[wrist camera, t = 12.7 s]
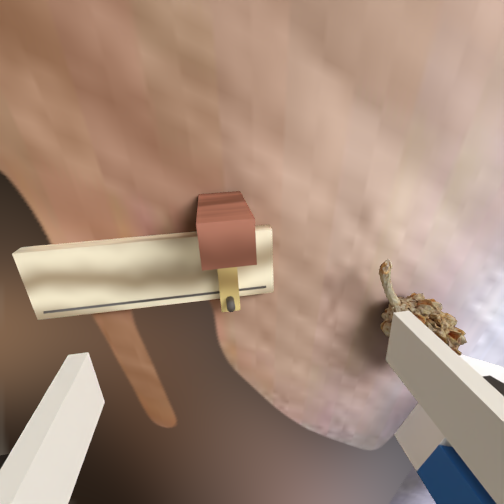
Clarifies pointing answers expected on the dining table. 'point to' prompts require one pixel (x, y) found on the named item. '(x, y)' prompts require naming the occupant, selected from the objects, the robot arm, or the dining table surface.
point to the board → (131, 273)
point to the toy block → (443, 453)
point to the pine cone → (420, 312)
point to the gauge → (226, 241)
